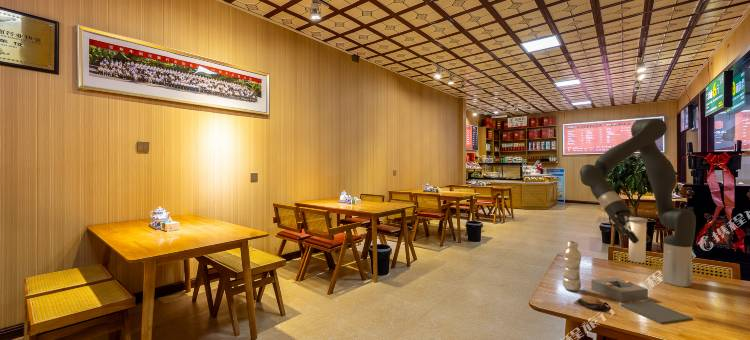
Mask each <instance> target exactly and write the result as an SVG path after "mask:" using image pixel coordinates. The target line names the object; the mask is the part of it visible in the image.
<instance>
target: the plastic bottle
mask: <svg viewBox="0 0 750 340" xmlns="http://www.w3.org/2000/svg"><path fill="white" fill-rule="evenodd" d="M578 248H579V245H578V242H577V241H574V240H573V241H572V240H570V241H569V240H568V241H567V243H566V249H565V250H564V251H563V253H562V257H563V262H564V263H563V264H564V272H563V278H562V287H564V289H565V290H568V291H571V292H572V291H573V292H574V291H575V292H578V291H580V290H581V288H582V282H581V274H580V268H581V261H582V254H581V253H582V252H581V251H580V250H579V249H578Z"/></svg>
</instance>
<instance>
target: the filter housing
mask: <svg viewBox="0 0 750 340" xmlns="http://www.w3.org/2000/svg"><path fill="white" fill-rule="evenodd" d="M590 288H591V290H592V291H594V292H597V293H599V294H602V295H604V296H606V297H608V298H611V299H613V300H615V301H617V302H619V303H627V302H633V301H634V302H635V301H646V300H648V299H649V298H648V297H649V296H648V295H649V289H648V288H647V287H643V286H642V285H641V286H640V285H638V284H635V283H633V282H632V281H631V280H625V279H622V278H619V277H608V278H607V277H606V278H599V279H591V287H590Z"/></svg>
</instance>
